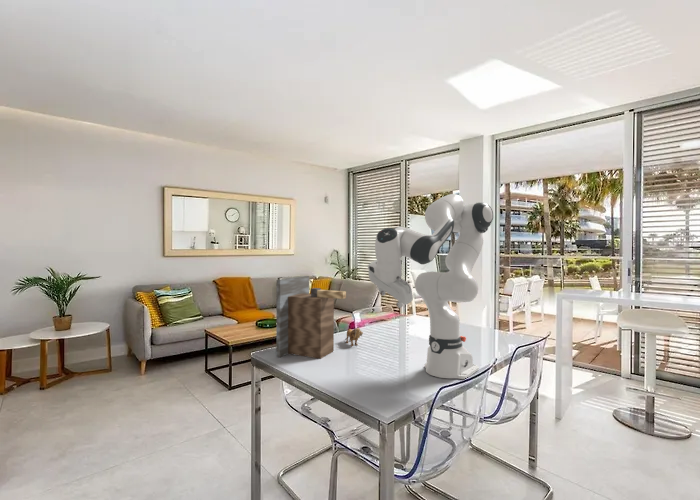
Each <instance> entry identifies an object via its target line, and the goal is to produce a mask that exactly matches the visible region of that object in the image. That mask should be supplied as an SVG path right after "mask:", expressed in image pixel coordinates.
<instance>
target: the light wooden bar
mask: <svg viewBox="0 0 700 500" xmlns="http://www.w3.org/2000/svg"><path fill="white" fill-rule="evenodd" d="M310 294H311V297H323V298H334V299H338V300H339V299H340V300H344V299H346V298H347V291H345V290H330V289H329V290H328V289H322V288H320V287H313V288H311V289H310Z"/></svg>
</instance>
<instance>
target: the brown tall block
mask: <svg viewBox="0 0 700 500" xmlns="http://www.w3.org/2000/svg"><path fill="white" fill-rule="evenodd" d="M334 302H335V298H323V297H311V293H310V275H302V276H296V277H287V278H281V279H276V358H282V357H284V356H286V355H293V354H295V356H301V357H306V356H308V357H307V358H313V359H323V358H324V357H326V355H327V356H328V355H330V354H332V353H334V352H333V351H335V350H334V348H335V347H334V344H335V343H334V342H335V341H334V340H335V338H334V337H335V335H334V333H335V332H334V328H335V327H334V326H335V325H334V322H335V321H334V320H335V319H334V317H335V316H334V313H335V312H334V311H335V310H334V309H335V305H334V304H335V303H334Z"/></svg>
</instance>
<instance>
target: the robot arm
mask: <svg viewBox="0 0 700 500" xmlns="http://www.w3.org/2000/svg"><path fill="white" fill-rule="evenodd" d="M493 219H494V212H493V209H492V207H491V206H490V205H489V204H488V203H486V202H476V203H471V204H469V203H468V204H465V201H464V199H463V198H462V197H461V196H460V195H458V194H456V193H451V194H447V195H444V196H442V197H440V198H438V199H437V200H435V201H433V202H432V203H430V204H429V205H428V206H427V208H426V209H425V212H424V220H425V223H426V224H427V227H429V229H431V230H432V231H434V232H433V233H432V234H423V233H421V232H418V231H415V230H412V229H410V228H407V227H404V226H396V227H394V228H392V227H386V228H383V229H380V230H379V231H378V233H377V234H376V237H375V242H374V250H375V251H374V253H375V255H374V256H375V258H376V259H375V260H374V261H371V262H370V263H369V264H367V269H368V278H369V281H370V282H371V283H372V284H374V285H375V286H376V287H377V290H378V292H379V295H380V296H382V297H384V296H385V295H386V294H388V295H390V296H391V297H393V298H394V299H395V300H397V302H396V307H397V308H398V309H401V308H402V307H403V305H404V306H406V305H408V304H410V303H411V302H412V301H413V299H414V298H413V295H414V294H413V289H412V286H411V284H410V283H408V281H406V280H404V279H403V278H402V275H403V272H402V271H403V270H402V261H401V257H405V258H408V259H410V260H413V261H414V262H416V263H417V264H420V265H426V264H429V263H431V262H432V261H433V260H434V259H435V258H436V257H437V255H438V253H439V250H440V249H441V248H442V247H443V245H444V244H445V243H446V241H447V240H448V239H449V237H450V236H451V234H458V233H459V235H458V237H457V239H456V240H455V242H454V243H453V245H452V246H451V248H450V249H449V251H448V253H447V255H446V256H445V259H444V260H445V261H444V262H445V263H444V264H445V266H446V268H447V269H448V271H446V272H444V271H426V272H421V273H420V274H418V275H417V277H416V279H415V282H414V288H415V291H416V293H417V294H418V295H419V296H420V297H421V299H422V300H423V302H424V303H425V305H426V308H427V310H428V314H429V326H430V327H429V329H430V330H429V336H428V345H429V346H428V348H427V354H426V362H425V363H424V365H423V366H424V368H425V373H427V374H428V375H430V376H433V377H435V378H440V379H460V380H466V379H468V378H469V377H471V376H472V375H473V374H474V373H476V372H478V371H479V370H480V367H479V366H478V365H477V364H475V363H474V362H473V361H474V360H473V355H472V353H471V352H470V351H468V349H466V348H465V346H463V342H464V343H465V342H466V340H467V337H466V336H463V335H460V328H461V327H460V325H461V324H460V323H461V322H460V317H459V314H458V313H457V312H455V311H454V310H453V309H452V308H451V306H450V304H449V302H452V303H469V302H472V301H474V300H475V299H476V297H477V295H478V294H479V284H478V281H477V280H476V278H475V277H474V276H473V275H472V270H473V268H474V266H475V264H476V262H477V260H478V258H479V256H480V254H481V251H482V248H483V245H484V238H483V236H482V234H484V233H486V232H487V231H488V229H489V227H491V224H492V222H493ZM467 377H468V378H467ZM465 378H466V379H465Z"/></svg>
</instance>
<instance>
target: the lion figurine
mask: <svg viewBox="0 0 700 500" xmlns="http://www.w3.org/2000/svg"><path fill="white" fill-rule="evenodd" d="M363 334H364V332H363V331H362V330H361V328H360V327H356V328H353V329H351V328H349V329H347V330H346V338H345V339H344V340H345V341H346V342H345V343H346V344H348V343H349V342H350V346H351V347H354V345H355V346H358V340H359V339H360V337H362V336H363Z"/></svg>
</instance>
